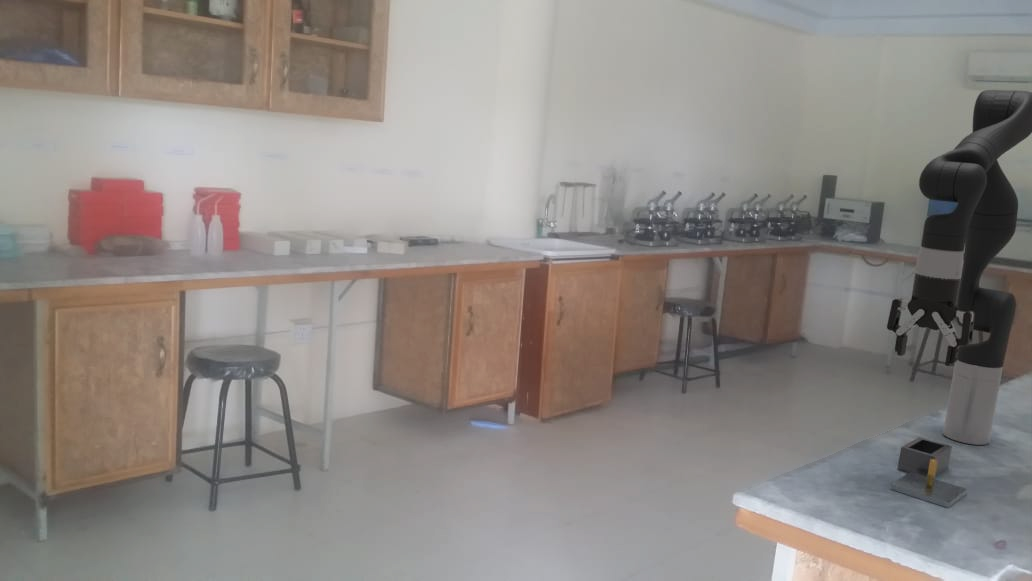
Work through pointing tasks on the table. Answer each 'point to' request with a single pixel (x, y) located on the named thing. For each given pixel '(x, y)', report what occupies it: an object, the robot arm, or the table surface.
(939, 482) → the peg plate
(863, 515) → the table surface
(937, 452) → the grey storage bin
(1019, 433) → the table surface
